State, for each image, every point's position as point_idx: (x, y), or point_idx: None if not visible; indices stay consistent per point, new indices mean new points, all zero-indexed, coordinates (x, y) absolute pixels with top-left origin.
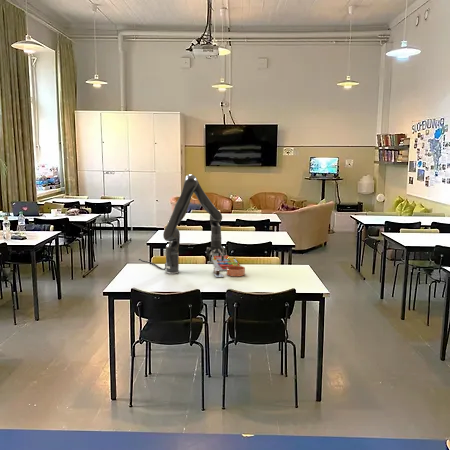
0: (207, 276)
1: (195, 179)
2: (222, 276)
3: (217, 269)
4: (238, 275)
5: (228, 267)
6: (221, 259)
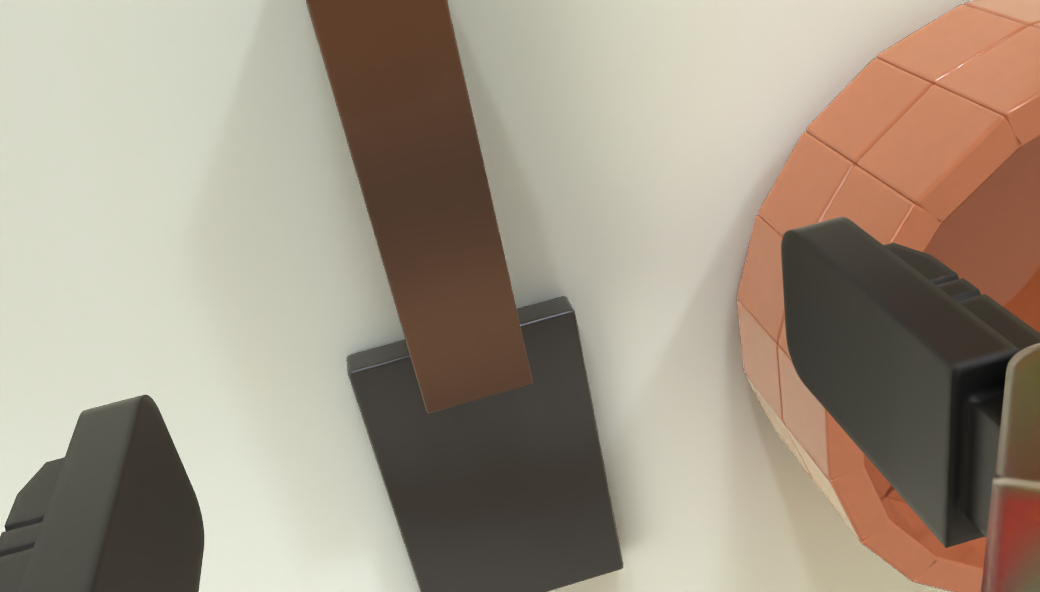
0: None
1: None
2: (592, 571)
3: (472, 235)
4: None
5: None
6: (815, 281)
